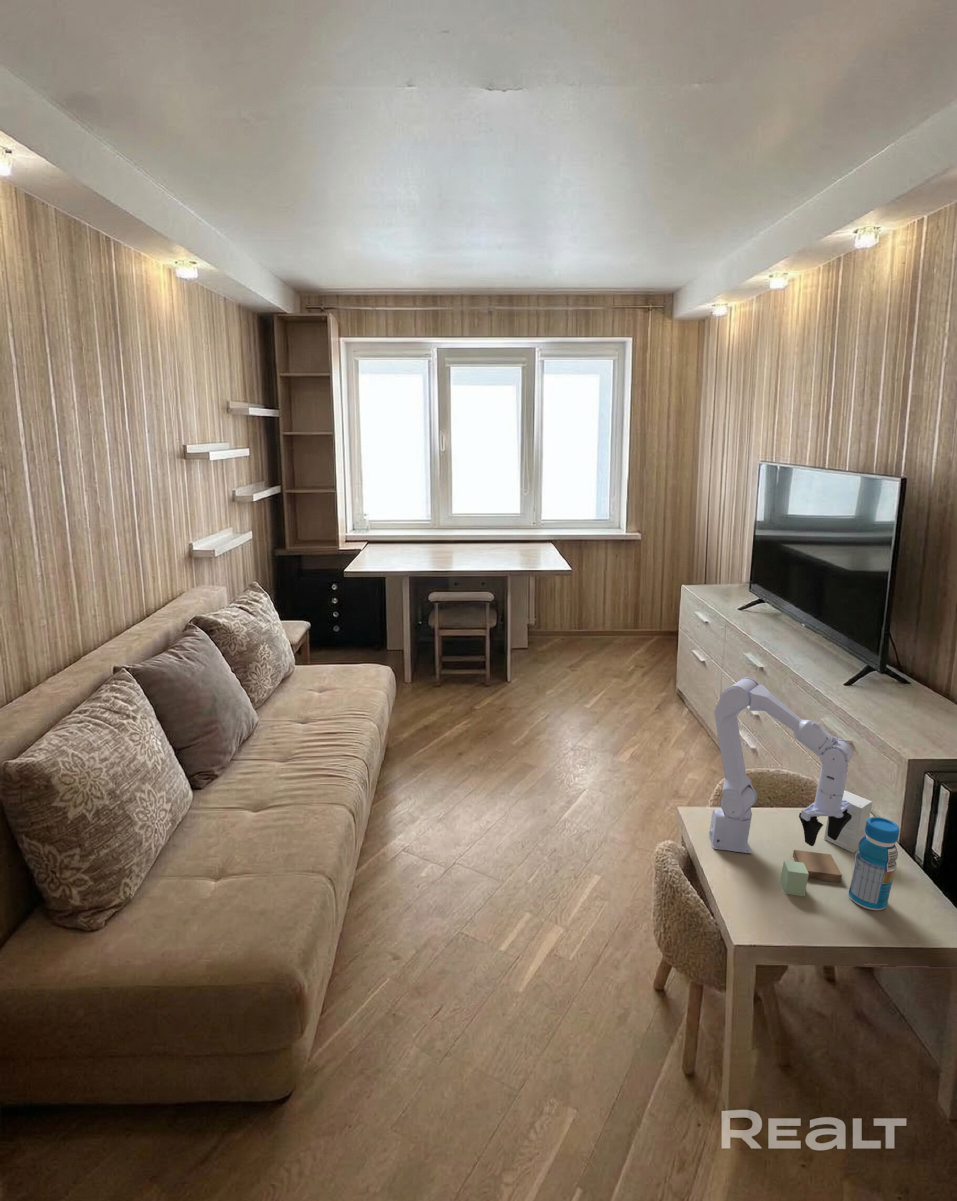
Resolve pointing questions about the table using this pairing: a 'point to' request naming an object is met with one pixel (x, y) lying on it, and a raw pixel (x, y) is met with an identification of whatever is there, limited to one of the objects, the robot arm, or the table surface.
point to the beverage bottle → (875, 864)
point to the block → (794, 878)
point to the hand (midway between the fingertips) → (820, 841)
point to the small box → (852, 823)
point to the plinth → (818, 865)
